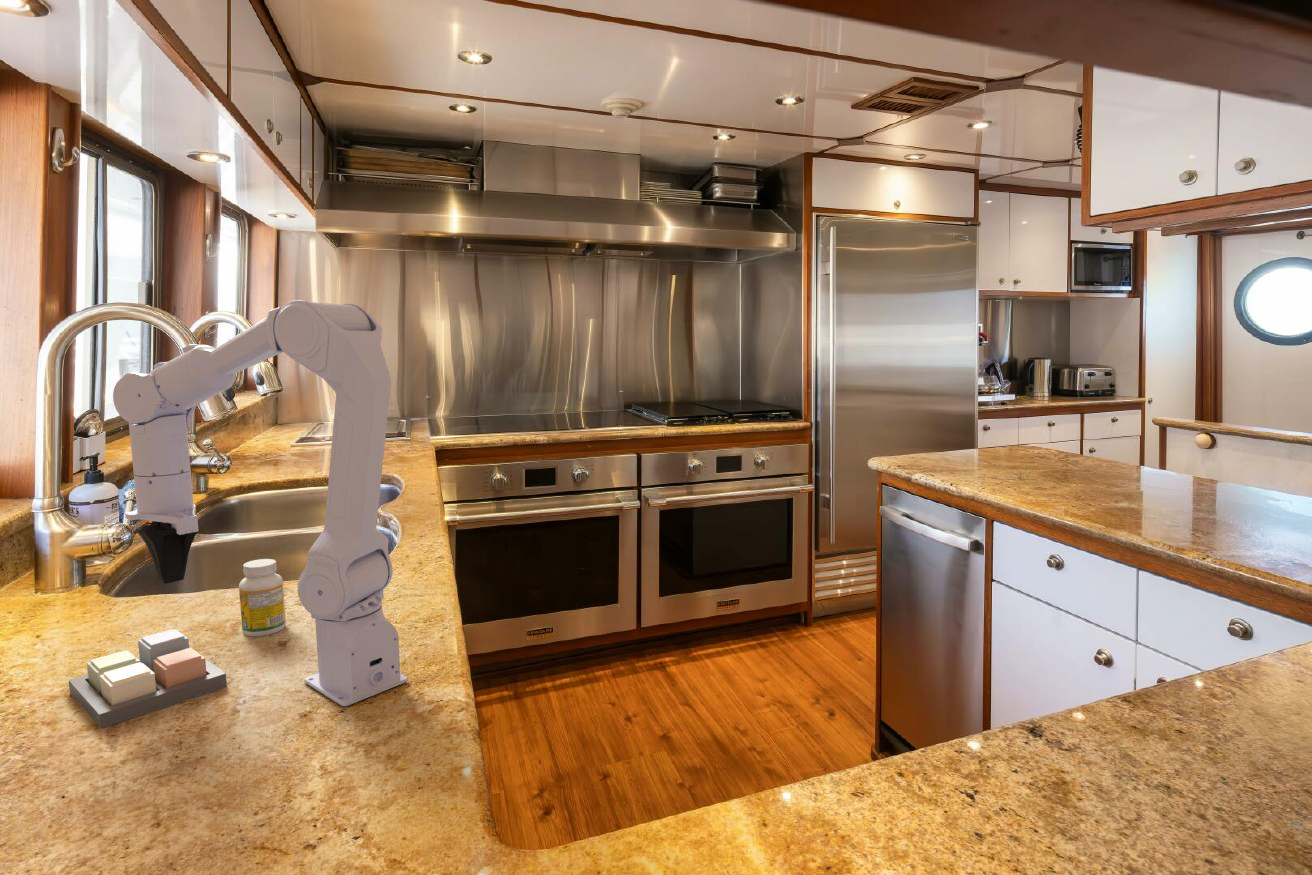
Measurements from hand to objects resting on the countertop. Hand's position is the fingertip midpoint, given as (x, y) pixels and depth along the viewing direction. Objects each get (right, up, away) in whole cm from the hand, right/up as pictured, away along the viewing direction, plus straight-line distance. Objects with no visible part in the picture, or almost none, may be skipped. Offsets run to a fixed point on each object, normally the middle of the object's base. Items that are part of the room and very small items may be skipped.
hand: (172, 580), depth 89 cm
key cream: (+2, -11, -10) cm, 15 cm away
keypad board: (+2, -11, -6) cm, 13 cm away
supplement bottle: (+5, -9, +11) cm, 15 cm away
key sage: (-2, -11, -7) cm, 13 cm away
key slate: (+1, -10, -3) cm, 10 cm away
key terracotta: (+5, -11, -6) cm, 13 cm away
